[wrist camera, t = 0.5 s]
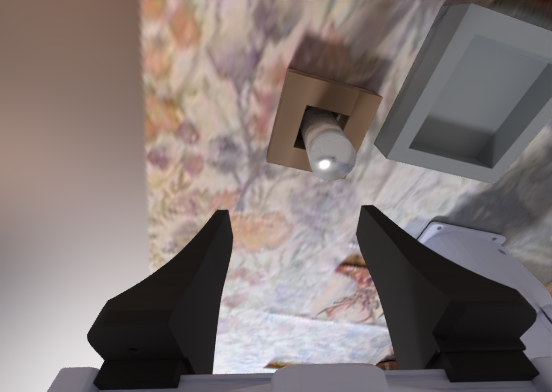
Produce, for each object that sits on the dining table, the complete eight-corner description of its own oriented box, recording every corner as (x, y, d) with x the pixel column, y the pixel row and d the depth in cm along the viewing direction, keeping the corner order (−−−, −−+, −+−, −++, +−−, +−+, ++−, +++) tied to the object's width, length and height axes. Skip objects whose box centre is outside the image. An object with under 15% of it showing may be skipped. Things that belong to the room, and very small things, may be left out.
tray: (562, 47, 18) (609, 51, 16) (470, 167, 24) (494, 184, 21) (441, 6, 17) (471, 2, 14) (373, 143, 22) (386, 158, 20)
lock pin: (338, 111, 20) (364, 145, 15) (326, 142, 22) (345, 184, 16) (305, 102, 20) (319, 134, 14) (296, 135, 22) (304, 175, 16)
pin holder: (373, 91, 20) (382, 97, 18) (339, 168, 23) (344, 179, 22) (287, 67, 19) (289, 71, 17) (266, 152, 22) (266, 162, 21)
